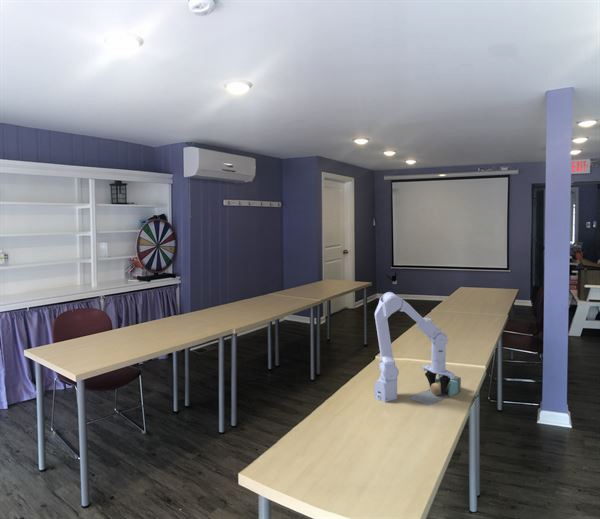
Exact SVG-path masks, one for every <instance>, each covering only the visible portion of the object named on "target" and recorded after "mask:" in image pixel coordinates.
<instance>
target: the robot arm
mask: <svg viewBox="0 0 600 519" xmlns="http://www.w3.org/2000/svg"><path fill="white" fill-rule="evenodd" d="M398 311H399V312H403V313H405V314H407V315H408V317H410V318H411V319H412V320H413V321H415V322H416V323H417V324H416V325H417V329H418V330H420V332H422V333H423V334H424V335H425V336H426V337H427V338H428V339H429V340H430V341H431V350H430V351H431V352H430V353H431V354H430V355H431V356H430V359H431V360H430V365H428V364H423V365H422V371H424V372H425V371H426V372H425V373H424V375H425V377H426V379H427V382H428V384H429V387H430V386H431V385H432V384H433V383H435V380H436V378H437V375H442V376H443V377H439V379H440V383H441V393H442V394H443V393H445V392H446V389H447V386H448V383H449V381H450V380H451V379H454V378H455V376H456V373H454V372H452V371H450V370H448V369H447V368H446V365H447V364H446V361H447V360H446V356H447V355H446V354H447V353H446V352H447V349H446V346H447V344H448V342H449V339H448V335H447V334H446V333H444V332H443V331H442V330H441V329H442V328H440V326H437V325H436V324H434V323H433V322H434V321H433V320H432V318H428V317H423V316H421V314H419V313H418V312H417V311H416V310H415V309H414V307H412V305H411V304H410V303H408V302H407V301H406V300H404V299H403V298H401V297H400V296H399V295H396V294H395V293H394V292H392V291H387V292H385V293H384V294H383V295H381V297H380V298H379V301H378V304H377V306H376V308H375V311H374V319H375V326H376V332H377V333H376V334H377V340H378V347H379V348H378V349H379V354H380V355H379V363H378V369H379V371H380V374H379V378H378V379H377V380H376V381H375V382H374V384H373V385H374V386H373V388H374V389H373V390H374V391H373V392H374V393H373V397H374V399H376V400H378V401H380V402H382V403H387V402H389V401H390V402H391V401H393V400H394V401H395V400H396V399H398V377H399V373H400V372H399V369H398V367H397V365H396V362H395V357H394V355H393V349H392V348H393V347H392V341H391V335H390V334H391V333H390V328H389V322H388V321H389V320H388V318H389V317H390V316H392V314H394V313H396V312H398Z"/></svg>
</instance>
